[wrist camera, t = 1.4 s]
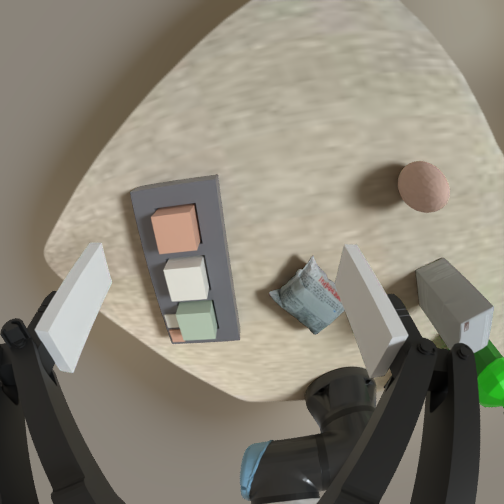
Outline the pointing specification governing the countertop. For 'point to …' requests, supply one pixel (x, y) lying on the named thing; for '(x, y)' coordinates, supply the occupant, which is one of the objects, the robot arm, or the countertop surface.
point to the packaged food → (310, 297)
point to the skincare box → (454, 305)
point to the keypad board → (210, 245)
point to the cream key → (187, 278)
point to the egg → (423, 187)
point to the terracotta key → (176, 228)
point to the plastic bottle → (490, 376)
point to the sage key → (197, 320)
